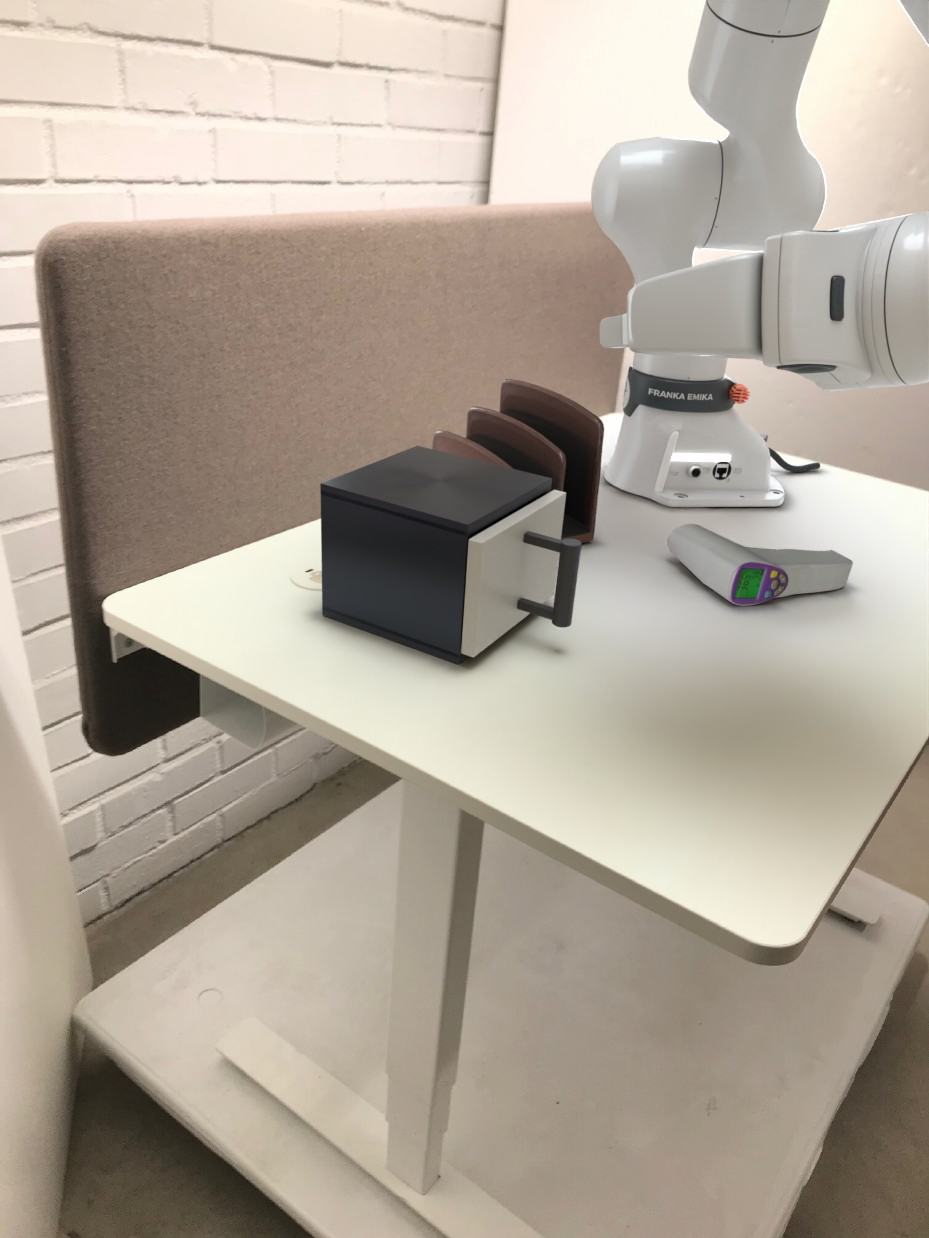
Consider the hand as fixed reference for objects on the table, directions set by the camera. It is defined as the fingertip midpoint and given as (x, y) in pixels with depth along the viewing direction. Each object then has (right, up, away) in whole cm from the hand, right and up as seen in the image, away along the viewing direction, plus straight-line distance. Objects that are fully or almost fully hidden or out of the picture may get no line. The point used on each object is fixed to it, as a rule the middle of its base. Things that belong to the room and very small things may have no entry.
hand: (647, 337), depth 60 cm
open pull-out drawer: (-12, -18, +18) cm, 28 cm away
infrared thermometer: (+17, -15, +31) cm, 39 cm away
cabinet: (-15, -18, +20) cm, 31 cm away
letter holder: (-7, -7, +42) cm, 43 cm away
